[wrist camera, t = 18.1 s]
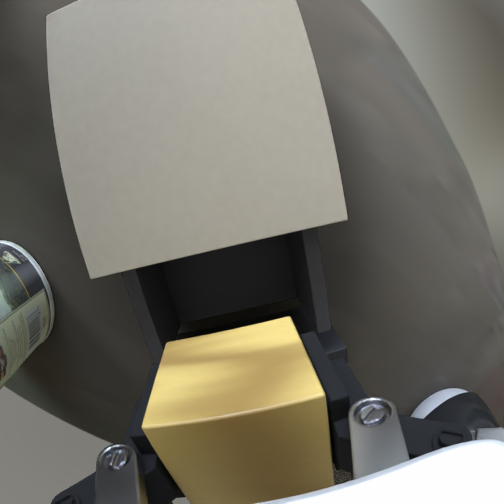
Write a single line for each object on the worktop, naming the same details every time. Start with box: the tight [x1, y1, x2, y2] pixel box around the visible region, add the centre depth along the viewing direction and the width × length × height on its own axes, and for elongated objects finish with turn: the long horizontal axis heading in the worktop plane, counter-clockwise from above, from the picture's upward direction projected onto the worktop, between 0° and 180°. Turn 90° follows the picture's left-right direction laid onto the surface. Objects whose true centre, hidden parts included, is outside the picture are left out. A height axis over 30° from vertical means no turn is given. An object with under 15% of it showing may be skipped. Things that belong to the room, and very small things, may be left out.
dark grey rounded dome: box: [410, 388, 500, 432], centre depth 22 cm, size 10×10×15 cm
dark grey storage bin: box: [122, 227, 348, 364], centre depth 20 cm, size 19×11×7 cm, turn 12°
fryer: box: [46, 0, 348, 279], centre depth 17 cm, size 15×13×9 cm
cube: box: [142, 316, 335, 504], centre depth 9 cm, size 4×4×4 cm
